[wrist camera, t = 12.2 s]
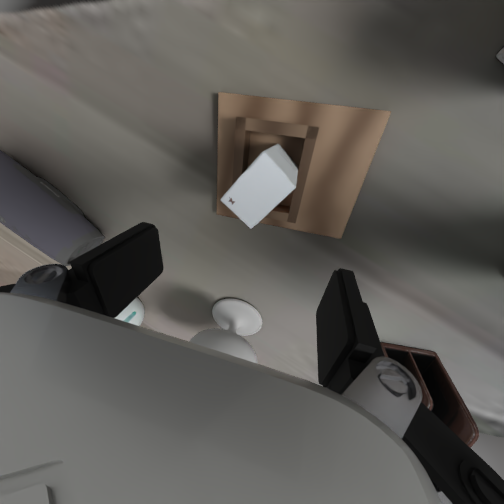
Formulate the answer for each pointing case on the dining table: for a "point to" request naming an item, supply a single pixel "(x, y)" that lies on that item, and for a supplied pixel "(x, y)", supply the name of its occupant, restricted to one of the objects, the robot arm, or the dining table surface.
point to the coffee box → (501, 55)
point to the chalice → (231, 329)
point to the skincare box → (262, 186)
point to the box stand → (300, 155)
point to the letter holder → (436, 389)
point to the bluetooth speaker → (43, 214)
